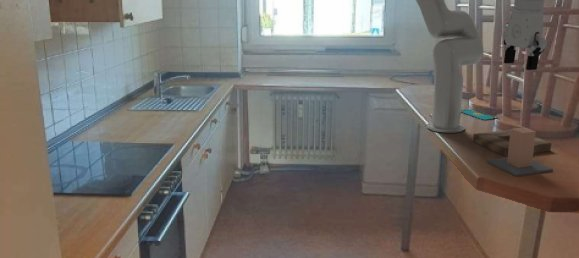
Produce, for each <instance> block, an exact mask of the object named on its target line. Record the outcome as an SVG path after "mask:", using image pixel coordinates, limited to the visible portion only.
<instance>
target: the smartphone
mask: <svg viewBox="0 0 579 258" xmlns="http://www.w3.org/2000/svg"><path fill="white" fill-rule="evenodd" d="M461 114H463V115H465V116H469V117H471V118H474V117H475V118H474V119H477V118H478V119H477V120H480V119H481V120H480V121H484V120H485V121H490V120H489V119H491V120H492V119H493V117H492V116H493V115H492V116H489V115H490V114H489V115H484V114H481V113H475V112H474V111H472V110H471V108H470V109H461ZM493 120H494V119H493Z"/></svg>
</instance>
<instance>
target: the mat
mask: <svg viewBox="0 0 579 258" xmlns="http://www.w3.org/2000/svg"><path fill="white" fill-rule="evenodd" d="M507 159H508V156H504V157H499V158H498V157H497V158H491V159H487V160H486V161H487V162H486V163H488V164H491V165H493V166H495V167H497V168H498V169H500V170H502V171H505V172H507V173H509V174H510V175H512V176H515V177H521V176H526V175H533V174H534V175H535V174H540V173H541V174H543V173H548V172H553V170H554V169H553V167H549V166H547V165H545V164H542V163H540V162H538V161H536V160H534V159H532V166H527V167H520V168H517V167H515V166H513V165H511V164H509V163H507Z"/></svg>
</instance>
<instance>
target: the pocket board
mask: <svg viewBox="0 0 579 258" xmlns="http://www.w3.org/2000/svg"><path fill="white" fill-rule="evenodd" d="M510 131H511V129H504V130H496V131H487V132H478V133H473V138H472V142H474V143H476V144H477V145H480V146H482V147H485V148H487V149H489V150H491V151H493V152H495V153H498V154H499V155H502V156H503V157H508V149H509V140H510ZM551 147H552V142H549V141H547V140H545V139H542V138H539V137H536V136H535V143H534V151H533V154H536V153H544V152H550V151H551V149H552V148H551Z"/></svg>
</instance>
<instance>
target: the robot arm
mask: <svg viewBox="0 0 579 258" xmlns="http://www.w3.org/2000/svg"><path fill="white" fill-rule="evenodd" d="M415 1H416V3H417V5H418V6H419V10H420V11H421V15H422V18H423V21H424V23H425V25H426V28H427V31H428V33H429V35H430V36H431V38H433V39H437V40H440V39H441V40H440V41H438V42H436V44H435V45H434V47H433V50H432V57H433V65H434V79H433V80H434V84H433V85H434V87H433V100H432V104H433V105H432V113H429V114H428V117H429V118H431V121H430V122H428V123H427V126H426V127H427V129H429V130H430V131H433V132H438V133H442V134H443V133H444V134H448V133H449V134H454V133H460V132H463V131H464V130H465V125H464V124H463V123H461V114H462V113H461V110H462V103H463V102H462V101H463V89H464V76H463V74H462V72H461V71H462V70H461V69H460V67H462V66H471V65H475V64H477V63H479V62H480V61H481V60H482V58H483V56H484V46H483V42H482V40H481V37H480V35H479V31H478V29H477V27H476V25H475V22H474V20H473V18H472V17H471V15H470V14H469V13H468V12H466V11H464V10H459V9H458V10H451V9H449V8H448V6H447V4H446V2H445V0H415ZM513 4H514V5H513V9H512V10H511V12H510V15H509V17H508V22H507V25H506V31H505V32H503V33H502V38H503V41H502V42H503V45H504V47H503V48H504V59H503V64H514V63H515V58H516V53H517V49H515V48H521V49H527V51H528V54H529V55H528V56H527V58H526V59H527V60H526V64H525V69H526V70H527V71H532V70H533V71H534V70H535V71H537V69H538V64H539V59H540V56H541V55H542V53H543V52H544V51H545V49H546V47H547V45H548V41H547V40H546V39H545V37H544V36H543V32H544V31H543V30H544V5H545V0H514V3H513Z"/></svg>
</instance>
